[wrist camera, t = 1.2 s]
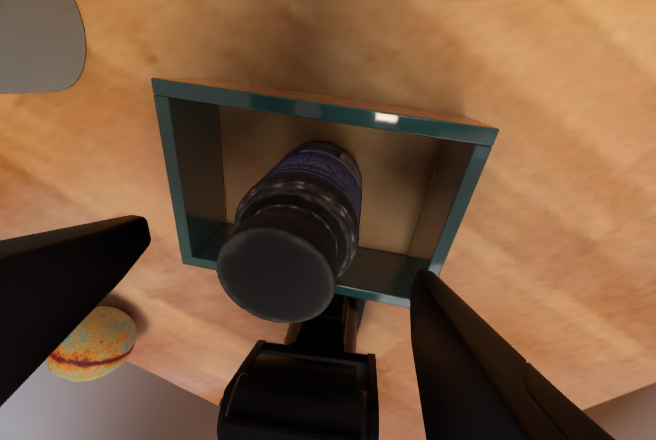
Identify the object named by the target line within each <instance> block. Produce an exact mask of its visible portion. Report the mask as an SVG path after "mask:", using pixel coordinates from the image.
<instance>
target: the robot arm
mask: <svg viewBox="0 0 656 440" xmlns="http://www.w3.org/2000/svg"><path fill="white" fill-rule="evenodd" d="M150 241H151V237H150V232H149V227H148V223H147V220H146V219H145V218H144V217H140V216H135V215H128V216H123V217H118V218H113V219H108V220H103V221H98V222H93V223H88V224H83V225H78V226H72V227H67V228H62V229H57V230H52V231H47V232H42V233H37V234H32V235H27V236H22V237H16V238H11V239H6V240H1V241H0V407H1V406H2V405H3V404H4V402H6V401H7V399H8V398H9V397H10V396H11V395H12V394H13V393H14V392H15V391H16V390H17V389H18V388H19V387H20V386H21V385H22V384H23V383H24V382H25V381H26V380H27V379H28V378H29V376H30V375H31V374H32V373H33V372H34V371H35V370H36V369H37V368H38V367H39V366H40V365H41V364H42V363H43V362H44V361H45V360H46V359H47V358H48V357H49V356H50V355H51V354H52V352H53V351H54V350H55V349H56V348H57V347H58V346H59V345H60V344H61V343H62V342H63V341H64V340H65V339H66V338H67V337H68V336H69V335H70V334H71V333H72V332H73V331H74V329H75V328H76V327H77V326H78V325H79V324H80V323H81V322H82V321H83V320H84V319H85V318H86V317H87V316H88V315H89V314H90V313H91V312H92V311H93V310H94V309H95V308H96V307H97V305H98V304H99V303H100V302H101V301H102V300H103V299H104V298H105V297H106V296H107V295H108V294H109V293H110V292H111V291H112V290H113V289H114V288H115V287H116V286H117V284H118V283H119V282H120V281H121V280H122V279H123V277H124V276H125V275H126V274H127V273H128V271H129V270H130V269H131V268H132V266H133V265H134V264H135V262H136V261H137V260H138V259H139V257H140V256H141V255H142V254H143V252H144V251H145V250H146V249H147V247H148V246H149V244H150ZM365 302H366V299H361V298H356V297H351V296H345V295H340V294H335V293H334V296H333V298H332V301H331V303H330V304H329V306H328V307H327V308H326V309H325V310H324V311H323V312H322V313H321V314H319V315H317V316H316V317H314V318H312V319H309V320H306V321H303V322H298V323H290V325H289V328H288V331H287V334H286V337H285V340H284V343H283V344H278V343H270V342H266V341H264V340H258V342H257V343H256V345H255V346H254V348H253V349H252V350H251V351H250V353H249V354H248V356H247V357H246V359H245V360H244V362H243V363H242V365H241V366H240V368H239V369H238V371H237V372H236V374H235V375H234V377H233V378H232V380H231V381H230V382H229V384H228V385H227V387H226V389H225V391H224V395H223V397H222V399H221V401H220V404H219V409H220V412H219V417H218V424H217V437H218V440H379V403H378V388H377V373H376V359H375V354H369V353H368V355H366V354H358V353H356V340H357V333H358V329H359V325H360V321H361V317H362V314H363V310H364V306H365ZM410 319H411V341H412V349H413V356H414V362H415V369H416V375H417V381H418V388H419V394H420V401H421V407H422V414H423V420H424V426H425V433H426V439H427V440H615V439H614V438H613V437H612V436H610V435H609V434H608V433H607V432H606V431H605V430H604V429H602V428H601V427H600V426H599V425H598V424H597V423H595V422H594V421H593V420H592V419H591V418H590V417H588V416H587V415H586V414H585V413H584V412H583V411H582V410H580V409H579V408H578V407H577V406H576V405H575V404H574V403H572V402H571V401H570V400H569V399H568V398H567V397H566V396H564V395H563V394H562V393H561V392H560V391H559V390H558V389H557V388H556V387H555V386H554V385H552V384H551V383H550V382H549V381H548V380H547V379H546V378H545V377H544V376H543V375H542V374H541V373H540V372H538V371H537V370H536V369H535V368H534V367H533V366H532V365H531V364H530V363H526V359H525V358H524V357H522V356H521V355H520V354H519V353H518V352H517V351H516V350H515V349H514V348H513V347H512V346H511V345H510V344H509V343H508V342H507V341H506V340H504V339H503V338H502V337H501V336H500V335H499V334H498V333H497V332H496V331H495V330H494V329H493V328H492V327H491V326H490V325H489V324H488V323H486V322H485V321H484V320H483V319H482V318H481V317H480V316H479V315H478V314H477V313H476V312H475V311H474V310H473V309H472V308H471V307H470V306H468V305H467V304H466V303H465V302H464V301H463V300H462V299H461V298H460V297H459V296H458V295H457V294H456V293H455V292H454V291H453V290H452V289H450V288H449V287H448V286H447V285H446V284H445V283H444V282H443V281H442V280H441V279H440V278H439V277H438V276H437V275H436V274H435V273H433V272H432V271H428V270H422V269H419V270H418V271H417V273H416V276H415V278H414V281H413V284H412V287H411V290H410Z"/></svg>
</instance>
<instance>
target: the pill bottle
mask: <svg viewBox="0 0 656 440" xmlns="http://www.w3.org/2000/svg"><path fill="white" fill-rule="evenodd" d="M361 200H362V177H361V173H360V171H359V168H358V165H357V164H356V162H355V161H354V159H353V158H352V157H351V156H350V155H349V154H348V153H347V151H346V150H344V149H342V148H341V147H338V146H337V145H334V144H332V143H329V142H323V141H312V142H307V143H303V144H301V145H299V146H298V147H296V148H295V149H293V150H292V151H291V152H289V153H288V154H287V155H286V156H285V157H284V158H283V159H282V160H281V161H280V162H279V163H278V164H277V165H276V166H275V167H274V168H273V169H271V170H270V171H269V172H268V173H267V174H266V175H265V176H264V177H263V178H262V179H261V180H260V181H259V182H258V183H257V184H256V185H255V186H253V187H252V188H251V189H250V190H249V191H248V193H247V194H246V195H245V196H244V197H243V199H242V200H241V202H240V203H239V206H238V207H237V210H236V214H235V218H234V231H233V233H232V234H231V235H230V236H229V238H228V239H227V240H226V241H225V242H224V244H223V245H222V247H221V249H220V251H219V254H218V257H217V274H218V278H219V280H220V283H221V285H222V287H223V288H224V290H225V292H226V293H227V294H228V296H229V297H230V298H231V299H232V300H233V301H234V302H235V303H236V304H237V305H238V306H240V307H241V308H243V309H245V310H246V311H247V312H248V313H251V314H252V315H254V316H256V317H259V318H261V319H264V320H268V321H272V322H278V323H298V322H303V321H306V320H309V319H312V318H314V317H316V316H317V315H319V314H321V313H322V312H323V311H324V310H325V309H326V308H327V307H328V306H329V304H330V303H331V301H332V298H333V296H334V293H335V289H336V285H337V279H338V277H339V276H341V275H342V274H343V273H344V272H345V271H346V270H347V268H348V267H349V266H350V264H351V263H352V261H353V259H354V257H355V254H356V251H357V246H358V241H359V224H360V212H361Z"/></svg>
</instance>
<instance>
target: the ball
mask: <svg viewBox="0 0 656 440" xmlns="http://www.w3.org/2000/svg"><path fill="white" fill-rule="evenodd" d="M135 341H136V327H135V324H134V322H133V320H132V319H131V318H130V316H129V315H128V314H126V313H125V312H123V311H121V310H119V309H116V308H113V307H96V308H95V309H94V310H93V311H92V312H91V313H90V314H89V315H88V316H87V317H86V318H85V319H84V320H83V321H82V322H81V323H80V324H79V325H78V326H77V327H76V328H75V329H74V331H73V332H72V333H71V334H70V335H69V336H68V337H67V338H66V339H65V340H64V341H63V342H62V343H61V344H60V345H59V346H58V347H57V348H56V349H55V350H54V351H53V352H52V354H51V355H50V356H49V357H48V358H47V359H46V363H47V366H48V368H49V369H50V371H51V372H52V373H53V374H55V375H56V376H57V377H59V378H61V379H63V380H66V381H71V382H85V381H90V380H94V379H97V378H100V377H103V376H105V375H106V374H109V373H110V372H112V371H113V370H115V369H116V368H117V367H119V366H120V365H121V364H122V363H123V362H124V361H125V360H126V358H127V357H128V356H129V354H130V353H131V351H132V349H133V347H134V344H135Z"/></svg>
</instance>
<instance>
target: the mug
mask: <svg viewBox="0 0 656 440" xmlns="http://www.w3.org/2000/svg"><path fill="white" fill-rule="evenodd" d="M85 55H86V43H85V34H84V29H83V24H82V20H81V17H80V14H79V11H78V8H77V5H76V3H75V0H0V94H6V93H33V92H55V91H61V90H64V89H66V88H68V87H70V86H71V85H73V84H74V83H75V82H76V80H77V79H78V78H79V76H80V74H81V72H82V69H83V66H84V62H85Z"/></svg>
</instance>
